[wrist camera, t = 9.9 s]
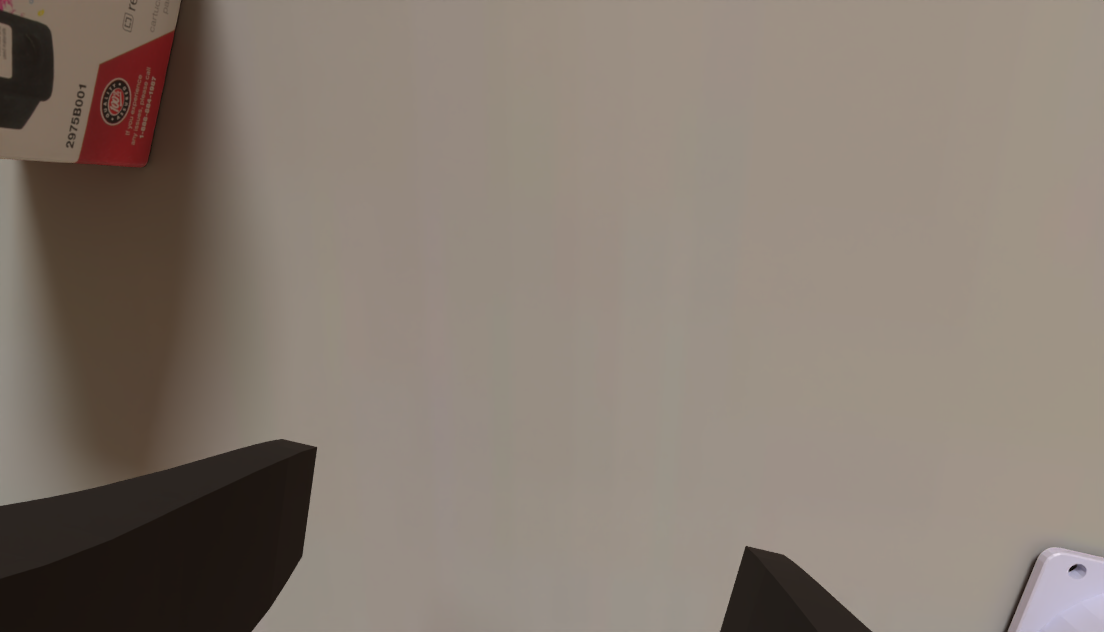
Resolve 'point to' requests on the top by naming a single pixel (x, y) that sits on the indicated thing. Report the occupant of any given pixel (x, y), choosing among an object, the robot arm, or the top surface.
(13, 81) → the ink box
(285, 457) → the robot arm
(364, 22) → the top surface
